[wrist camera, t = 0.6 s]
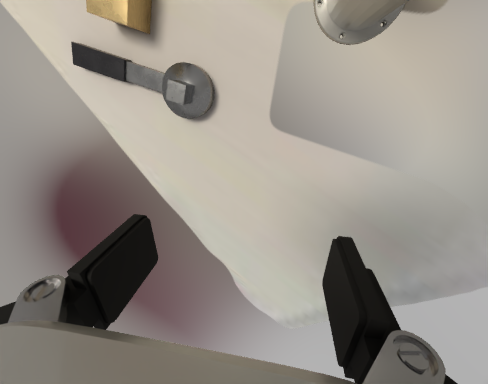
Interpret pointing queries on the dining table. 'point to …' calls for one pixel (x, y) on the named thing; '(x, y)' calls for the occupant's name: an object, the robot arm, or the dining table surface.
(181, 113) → the ratchet
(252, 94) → the dining table surface
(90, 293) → the robot arm
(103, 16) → the brass-coloured cube
